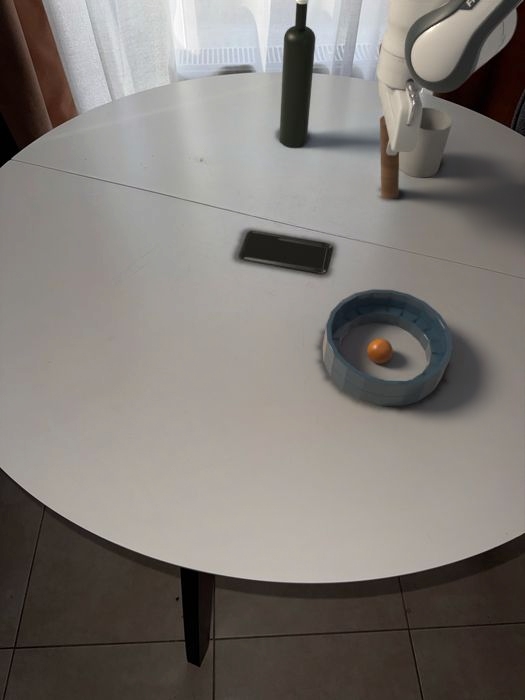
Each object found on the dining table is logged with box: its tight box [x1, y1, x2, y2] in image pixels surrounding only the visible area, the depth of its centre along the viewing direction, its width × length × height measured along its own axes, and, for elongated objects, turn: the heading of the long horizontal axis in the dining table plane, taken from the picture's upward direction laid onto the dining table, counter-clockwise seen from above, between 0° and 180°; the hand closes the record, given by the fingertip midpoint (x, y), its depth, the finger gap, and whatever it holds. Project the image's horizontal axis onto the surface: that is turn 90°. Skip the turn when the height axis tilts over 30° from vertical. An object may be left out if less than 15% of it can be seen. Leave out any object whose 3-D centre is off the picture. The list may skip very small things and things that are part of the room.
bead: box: [366, 338, 394, 364], centre depth 84 cm, size 4×4×4 cm
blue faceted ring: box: [322, 288, 454, 407], centre depth 83 cm, size 17×17×6 cm
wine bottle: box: [279, 0, 316, 149], centre depth 110 cm, size 6×6×30 cm
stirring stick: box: [379, 115, 400, 200], centre depth 104 cm, size 3×3×16 cm
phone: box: [237, 229, 333, 275], centre depth 99 cm, size 8×1×15 cm
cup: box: [399, 106, 453, 179], centre depth 113 cm, size 8×8×10 cm
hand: (389, 145), depth 101 cm, fingers closed on stirring stick, 3 cm apart
